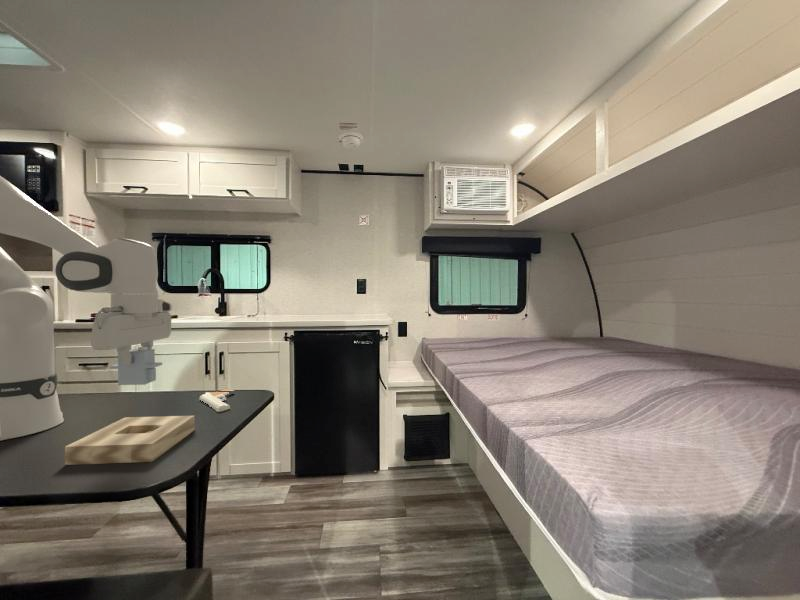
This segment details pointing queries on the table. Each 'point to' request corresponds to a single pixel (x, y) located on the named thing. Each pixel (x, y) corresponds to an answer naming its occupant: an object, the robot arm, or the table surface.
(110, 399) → the table surface
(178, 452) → the table surface
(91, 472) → the table surface
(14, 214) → the robot arm
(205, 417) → the table surface
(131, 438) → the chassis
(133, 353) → the block
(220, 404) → the pistol
